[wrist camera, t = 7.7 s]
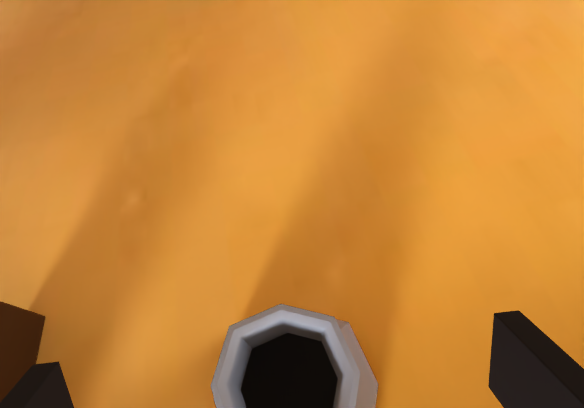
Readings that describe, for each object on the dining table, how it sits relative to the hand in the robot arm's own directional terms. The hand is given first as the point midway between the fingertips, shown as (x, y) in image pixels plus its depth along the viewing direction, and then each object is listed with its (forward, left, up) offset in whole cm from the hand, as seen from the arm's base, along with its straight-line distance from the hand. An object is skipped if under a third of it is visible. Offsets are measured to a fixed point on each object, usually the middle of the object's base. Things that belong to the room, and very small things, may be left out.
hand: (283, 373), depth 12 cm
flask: (0, 0, -6) cm, 6 cm away
